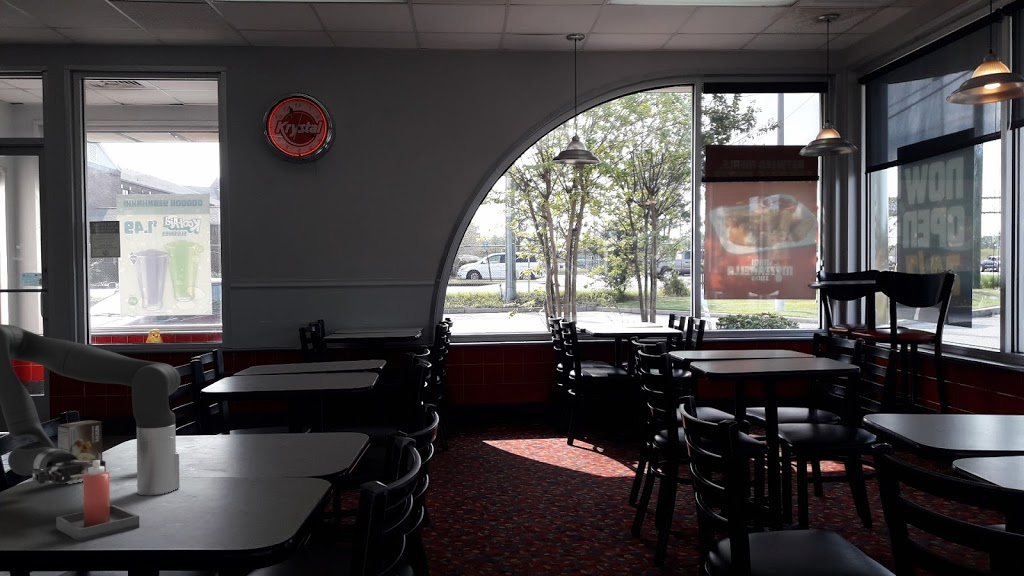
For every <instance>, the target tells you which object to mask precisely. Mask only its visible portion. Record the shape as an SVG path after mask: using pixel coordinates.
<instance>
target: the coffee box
mask: <svg viewBox="0 0 1024 576" xmlns="http://www.w3.org/2000/svg"><path fill="white" fill-rule="evenodd" d="M102 429H103V427H102V421H99V420H91V419H88V420H82V421H75V422H69V423H63V424H62V423H61V424H57V447H58V448H57V449H60V450H63V451H66V452H69V453H72V454H74V455H75V456H76V457H77V458H78V460H79V461H90V463H91V459H94V458H95V459H99V460H103V433H102ZM82 473H84V471H83V472H82ZM79 479H83V476H77V477H74V478H73V479H72V480H70V481H73V480H79Z"/></svg>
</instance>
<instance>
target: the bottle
mask: <svg viewBox="0 0 1024 576" xmlns="http://www.w3.org/2000/svg"><path fill="white" fill-rule="evenodd" d="M82 483H83V486H82V487H83V511H84V527H90V526H95V525H99V524H103V523H108V522H110V506H111V505H110V501H111V500H110V499H111V498H110V472H109V471H106V472H105V467H104V466H100V460H95V461H93V467H90V468H88V474H85V475H84V476H83V482H82Z"/></svg>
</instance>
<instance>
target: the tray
mask: <svg viewBox="0 0 1024 576" xmlns="http://www.w3.org/2000/svg"><path fill="white" fill-rule="evenodd" d="M55 519H56V520H55V522H56V523H55V524H56V526H55V527H56V530H58V531H59V532H62V533H64V534H65V535H66V536H69V537H71V538H72V539H75V540H76V541H78V542H79V543H81V542H85V541H88V540H89V541H90V540H94V539H98V538H101V537H104V536H110V535H113V534H117V533H118V534H119V533H122V532H126V531H130V530H134V529H138V528H140V515H137V514H135V513H133V512H131V511H128V510H126V509H124V508H121V507H119V506H118V505H115V504H112V505H110V522H108V523H103V524H99V525H95V526H90V527H84V510H83V511H78V512H75V513H71V514H65V515H60V516H56V517H55Z"/></svg>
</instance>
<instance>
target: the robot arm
mask: <svg viewBox="0 0 1024 576" xmlns="http://www.w3.org/2000/svg"><path fill="white" fill-rule="evenodd" d="M13 360H14V361H22V362H28V363H32V364H37V365H41V366H43V367H44V368H46V369H48V370H50V371H52V372H53V373H55V374H57V375H61V376H63V377H67V378H70V379H73V380H77V381H82V382H86V383H87V382H88V383H98V384H111V385H112V384H113V385H114V384H115V385H124V386H129V387H131V404H132V413H133V417H134V419H135V422H136V473H137V474H136V480H137V482H136V483H137V484H136V487H137V491H136V492H137V495H141V496H157V495H163V494H164V493H165V494H168V492H169V493H172V492H174V491H175V490H174V489H176V488H181V487H180V486H181V485H180V453H179V452H177V448H176V447H177V446H176V445H177V443H176V414H175V412H173V411H172V410H171V409H170V402H169V396H171V395H173V394H174V393H175V392H176V391H177V390H178V389H179V388H180V386H181V383H182V382H181V376H180V373H179V371H178V370H177V369H176V368H175V367H174V366H173V365H171V364H168V363H164V362H158V361H157V362H156V361H148V360H142V359H137V358H133V357H129V356H125V355H122V354H118V353H117V352H114V351H113V352H112V351H110V350H106V349H102V348H99V347H96V346H92V345H88V344H85V343H80V342H77V341H76V342H75V341H71V340H66V339H65V340H64V339H59V338H52V337H46V336H43V335H40V334H37V333H36V332H32V331H30V330H26V329H23V328H21V327H19V326H16V325H12V324H2V323H1V324H0V406H1V411H2V414H3V417H4V420H5V424H6V427H7V430H8V435H9V436H10V437H12V438H25V437H26V438H27V437H28V438H31V439H32V440H34V442H31V443H28V444H24V445H21V446H17V447H15V448H14V449H13V450H11V451H10V452H9V454H8V456H7V457H8V458H7V464H8V467H9V469H10V470H11V471H12V472H13V473H15V474H16V475H20V476H32V481H34V482H36V483H37V484H40V485H43V484H45V482H48V483H53V484H56V485H57V484H58V485H60V484H65V483H66V482H68V481H70V480H72V479H73V478H74V477H77V476H84V475H85V474H88V468H90V467H93V461H95V460H99V459H95V458H94V459H91V463H90V461H79V460H78V458H77V457H76V456H75V455H74V454H72V453H69V452H66V451H63V450H60V449H58V448H57V447H56V445H55V443H54V442H53V441H52V439H50V437H49V436H48V434H47V433H46V431H45V429H44V428H43V426H42V424H41V421H40V417H39V414H38V411H37V408H36V405H35V402H34V400H33V397H32V396H31V394H30V392H29V391H28V389H27V388H26V387H25V385H24V384H23V382H22V381H21V380H20V379H19V377H18V375H17V373H16V371H15V369H14V367H13V363H12V361H13ZM106 462H107V461H106V460H103V459H102V460H100V466H104V467H105V472H107V469H106V464H107V463H106ZM83 471H84V473H82V472H83ZM173 490H174V491H173ZM171 491H172V492H171ZM165 494H164V495H165Z"/></svg>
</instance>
